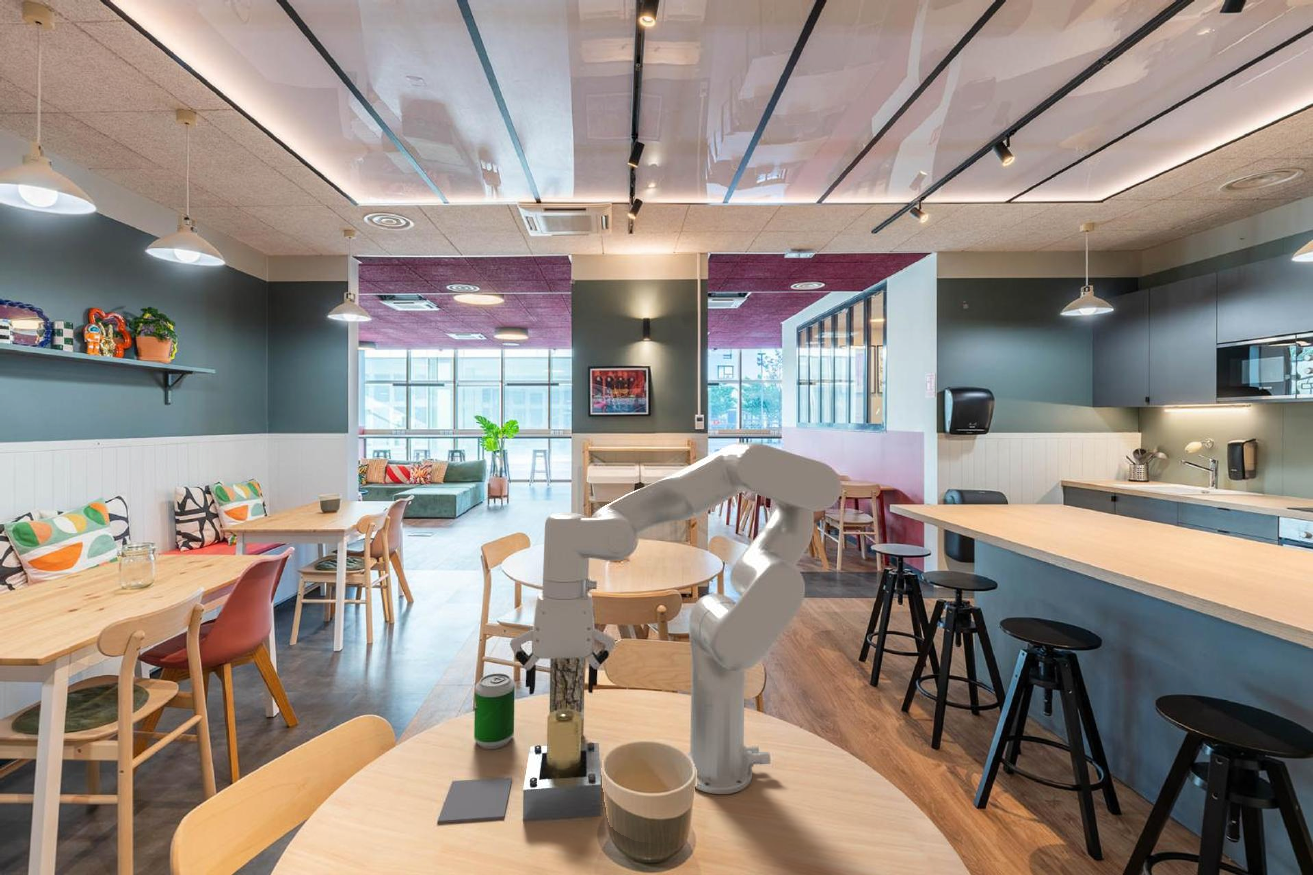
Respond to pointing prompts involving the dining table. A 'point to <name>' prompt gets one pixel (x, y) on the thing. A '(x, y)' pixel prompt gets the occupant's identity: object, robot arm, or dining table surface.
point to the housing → (562, 787)
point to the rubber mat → (476, 800)
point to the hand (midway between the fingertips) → (561, 690)
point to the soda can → (494, 710)
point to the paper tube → (567, 685)
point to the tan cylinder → (563, 744)
